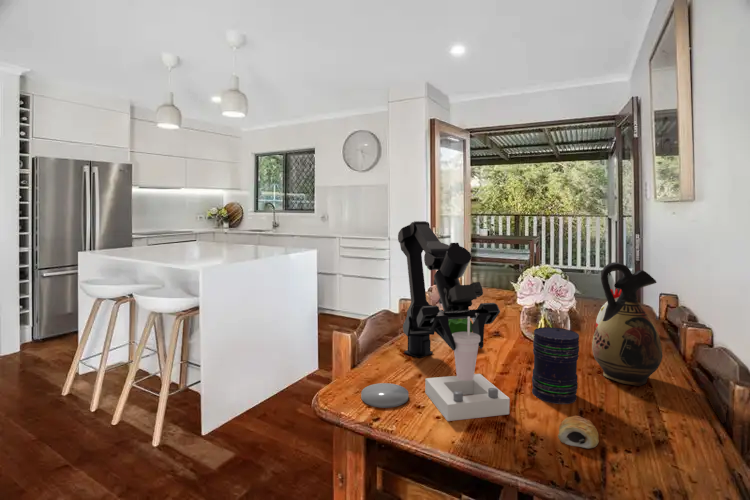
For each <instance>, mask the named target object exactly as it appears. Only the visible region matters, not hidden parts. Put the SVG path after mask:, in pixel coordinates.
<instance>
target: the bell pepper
mask: <svg viewBox="0 0 750 500" xmlns="http://www.w3.org/2000/svg"><path fill="white" fill-rule="evenodd" d="M467 321H468V318H465V319H449V320H448V323H449V327H450V330H451V333H452V334H453V333H455V332H467ZM472 324H473V321H472V320H470V332H472V333H473V331H472V328H471V326H472Z"/></svg>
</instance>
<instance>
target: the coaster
mask: <svg viewBox="0 0 750 500" xmlns="http://www.w3.org/2000/svg"><path fill="white" fill-rule="evenodd" d="M360 394H361V396H360V399H361V401H362V402H363V403H365V404H366V405H368V406H371V407H373V408H381V409H388V408H396V407H399V406H403V405H405V403H407V402H408V400H409V391H408V389H407V388H406V387H404V386H401V385H400V384H399V385H398V384H395V383H390V382H389V383H388V382H382V383H374V384H370V385H368V386H366V387H364V388H363V389H361V391H360Z"/></svg>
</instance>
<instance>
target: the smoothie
mask: <svg viewBox="0 0 750 500" xmlns="http://www.w3.org/2000/svg"><path fill="white" fill-rule="evenodd" d="M470 321H471V318H470V316H468V321H467V332H455V333H453V334H452V336H453V339H454V342H455V346H456V349H455V351H453V353H454V355H453V356H454V363H455V373H456V376H457V378H458V379H460V380H463V381H470V380H473V378H474V374H475V373H476V372H475V370H476V364H477V363H476V362H477V357H478V351H479V342H480V341H481V340H480V335H478V334H476V333H473V331H472V332H470Z"/></svg>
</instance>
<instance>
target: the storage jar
mask: <svg viewBox="0 0 750 500" xmlns="http://www.w3.org/2000/svg"><path fill="white" fill-rule="evenodd" d="M533 335H534V336H533V341H532V342H533V343H532V344H533V345H532V346H533V348H532V355H534V357H533V369H532V376H531V382H532V389H531V393H532V395H533V396H534V397H535V396H536V397H535V398H537V399H538V398H539V399H538V400H540V399H541V401H543V402H546V403H549V404H550V403H551V404H556V405H569V404H573V403H575V402H576V401H577V397H578V396H577V393H578V383H579V382H578V375H577V371H578V370H577V369H578V365H577V364H578V360H579V356H580V355H579V352H580V345H579V344H580V341H579V340H580V334H579V333H578V332H576V331H574V330H572V329H571V330H570V329H567V328H566V329H565V328H560V327H554V326H553V327H552V326H551V327H550V326H547V327H538V328H535V329H534V330H533Z"/></svg>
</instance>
